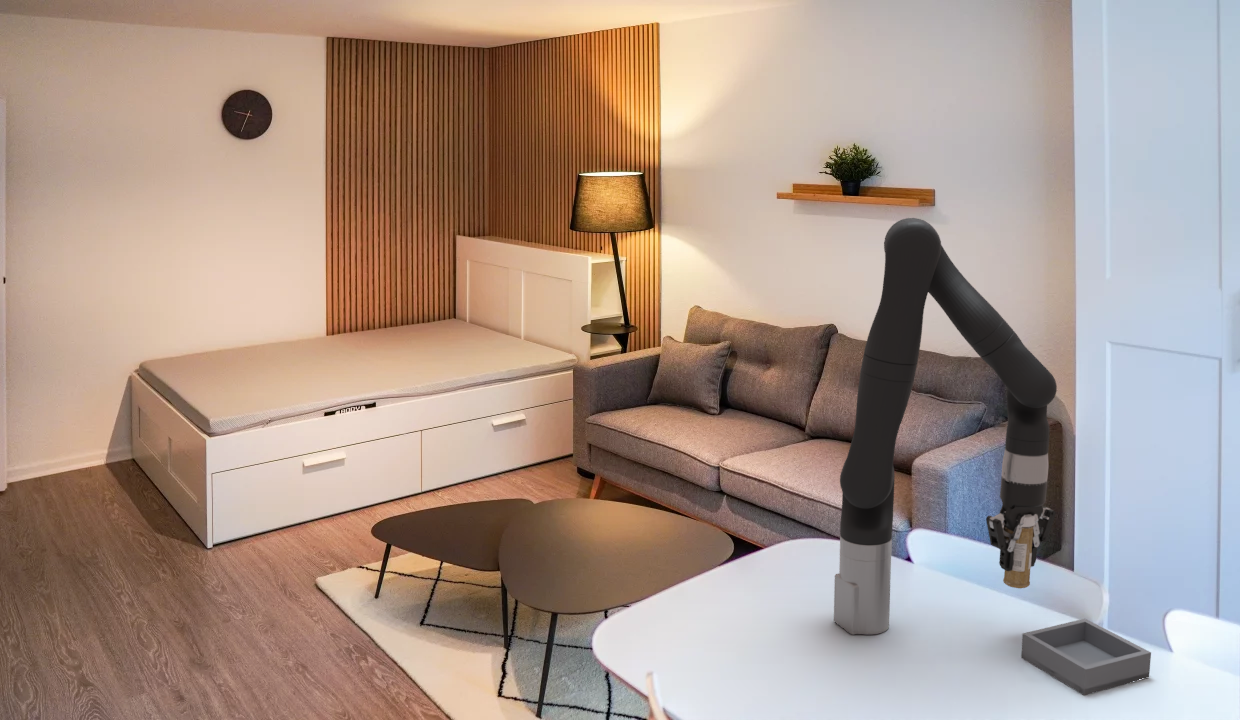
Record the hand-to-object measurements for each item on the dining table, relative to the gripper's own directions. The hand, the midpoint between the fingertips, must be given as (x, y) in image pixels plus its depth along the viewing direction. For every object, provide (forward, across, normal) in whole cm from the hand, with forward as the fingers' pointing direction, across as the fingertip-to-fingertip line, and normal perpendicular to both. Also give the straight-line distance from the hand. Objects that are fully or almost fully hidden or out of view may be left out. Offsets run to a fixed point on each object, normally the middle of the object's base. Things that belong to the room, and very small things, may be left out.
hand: (1017, 566), depth 187 cm
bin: (+13, -2, +14) cm, 19 cm away
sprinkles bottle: (+3, 0, 0) cm, 3 cm away
